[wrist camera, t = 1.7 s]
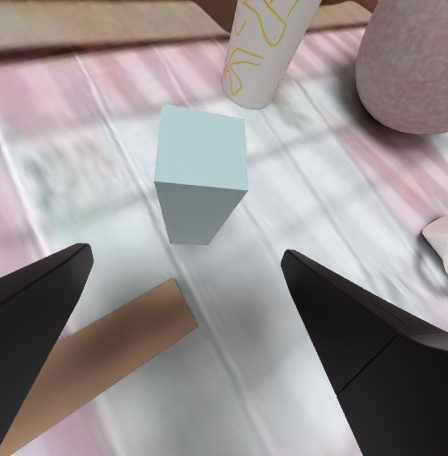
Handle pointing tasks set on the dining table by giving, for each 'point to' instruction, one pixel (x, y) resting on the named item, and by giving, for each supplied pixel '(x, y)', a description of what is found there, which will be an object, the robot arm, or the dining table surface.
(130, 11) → the dining table surface
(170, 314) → the beam
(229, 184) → the post
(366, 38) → the plant pot
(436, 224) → the mug
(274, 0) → the white cylinder
